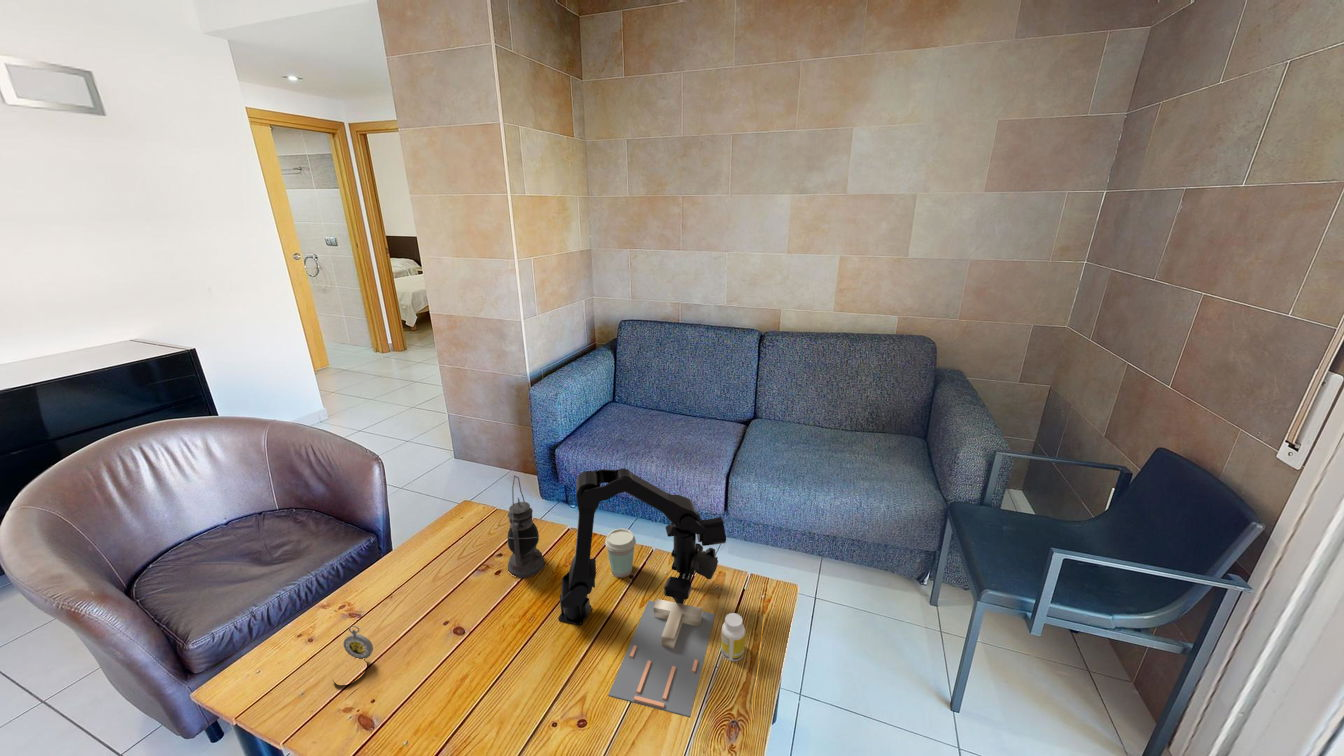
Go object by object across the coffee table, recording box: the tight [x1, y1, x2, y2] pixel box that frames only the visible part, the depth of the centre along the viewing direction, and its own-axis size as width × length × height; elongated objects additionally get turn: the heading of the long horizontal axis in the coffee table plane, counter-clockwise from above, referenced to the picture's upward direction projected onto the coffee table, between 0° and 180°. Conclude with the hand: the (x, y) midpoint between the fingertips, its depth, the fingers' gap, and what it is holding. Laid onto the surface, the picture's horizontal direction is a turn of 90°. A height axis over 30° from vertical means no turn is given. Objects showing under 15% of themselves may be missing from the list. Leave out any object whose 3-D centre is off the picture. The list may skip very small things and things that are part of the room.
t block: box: [653, 598, 703, 649], centre depth 121 cm, size 12×11×3 cm
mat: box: [607, 599, 716, 719], centre depth 116 cm, size 18×28×1 cm, turn 165°
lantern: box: [506, 475, 546, 579], centre depth 140 cm, size 12×11×30 cm
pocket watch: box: [343, 625, 374, 659], centre depth 110 cm, size 8×8×10 cm
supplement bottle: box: [720, 612, 746, 662], centre depth 114 cm, size 5×5×10 cm
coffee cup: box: [604, 527, 636, 578], centre depth 140 cm, size 8×8×12 cm
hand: (684, 594), depth 132 cm, fingers open, 8 cm apart
